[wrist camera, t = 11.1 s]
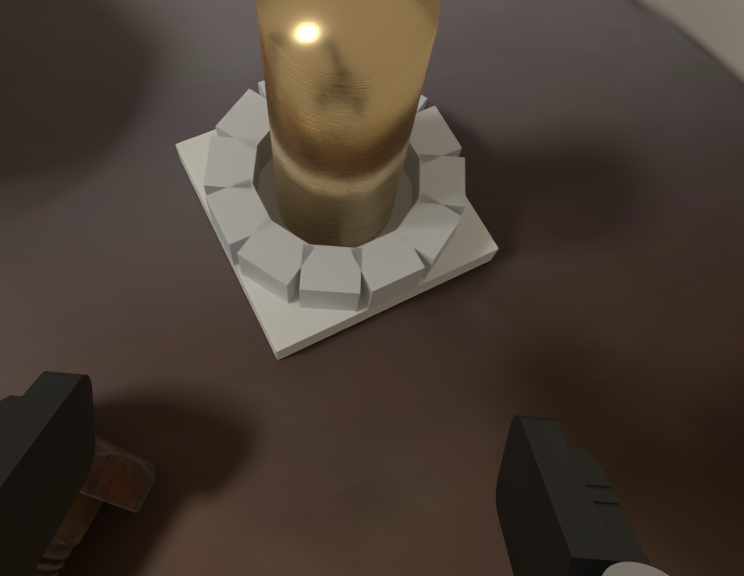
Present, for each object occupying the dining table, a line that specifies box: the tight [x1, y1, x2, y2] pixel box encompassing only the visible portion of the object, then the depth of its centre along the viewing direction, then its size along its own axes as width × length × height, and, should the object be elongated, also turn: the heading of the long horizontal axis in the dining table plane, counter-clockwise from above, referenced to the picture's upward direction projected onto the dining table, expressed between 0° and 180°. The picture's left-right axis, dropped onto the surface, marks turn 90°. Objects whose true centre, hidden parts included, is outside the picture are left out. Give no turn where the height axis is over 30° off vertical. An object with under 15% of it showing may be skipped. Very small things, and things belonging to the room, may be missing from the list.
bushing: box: [256, 0, 441, 248], centre depth 22 cm, size 5×5×11 cm
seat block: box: [175, 81, 499, 360], centre depth 27 cm, size 10×10×3 cm
